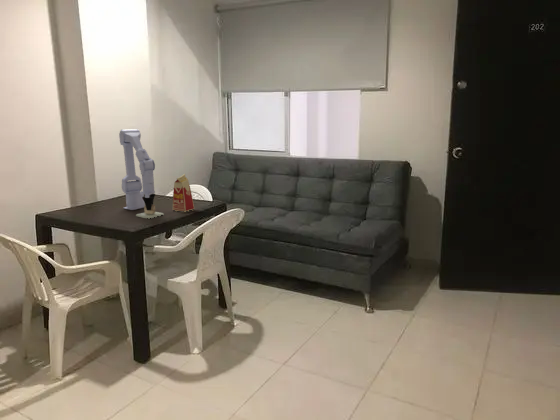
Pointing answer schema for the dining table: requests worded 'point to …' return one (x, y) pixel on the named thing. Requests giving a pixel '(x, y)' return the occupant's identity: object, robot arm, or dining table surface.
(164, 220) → the dining table surface
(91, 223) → the dining table surface
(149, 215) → the coaster
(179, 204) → the milk carton
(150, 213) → the maple block
